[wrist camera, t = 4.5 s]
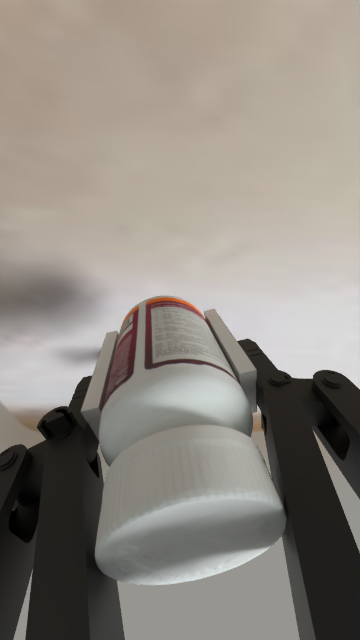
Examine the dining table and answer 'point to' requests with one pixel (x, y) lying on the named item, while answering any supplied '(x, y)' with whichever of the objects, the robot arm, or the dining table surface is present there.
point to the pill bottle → (179, 455)
